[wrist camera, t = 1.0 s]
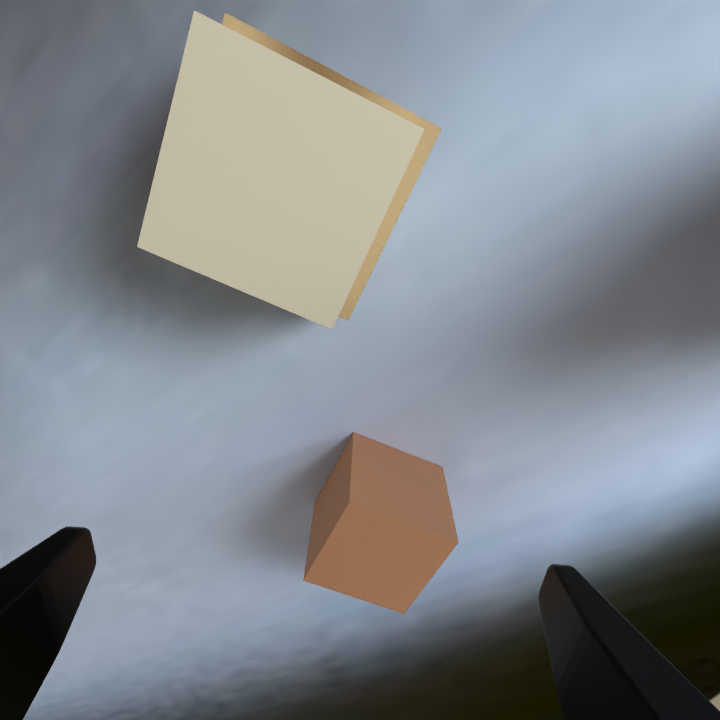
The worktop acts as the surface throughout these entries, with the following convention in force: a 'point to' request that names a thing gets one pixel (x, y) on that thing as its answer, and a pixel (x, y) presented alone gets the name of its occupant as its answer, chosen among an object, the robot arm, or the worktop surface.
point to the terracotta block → (380, 525)
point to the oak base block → (429, 128)
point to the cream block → (271, 174)
